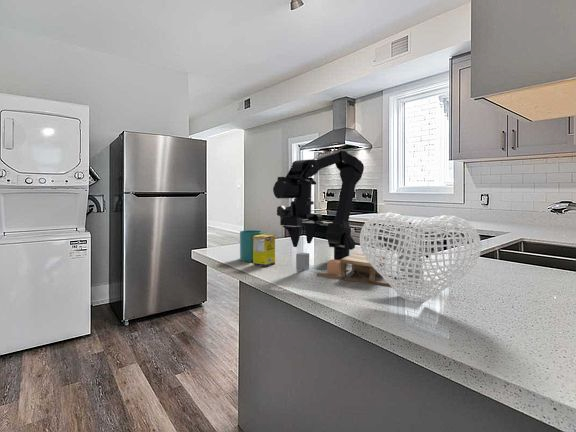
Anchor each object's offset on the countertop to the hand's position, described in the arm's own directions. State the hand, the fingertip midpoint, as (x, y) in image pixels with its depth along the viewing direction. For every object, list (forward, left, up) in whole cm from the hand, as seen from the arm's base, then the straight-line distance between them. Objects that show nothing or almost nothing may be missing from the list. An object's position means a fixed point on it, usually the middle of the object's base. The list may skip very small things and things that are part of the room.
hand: (302, 245), depth 115 cm
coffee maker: (-13, +33, -10) cm, 37 cm away
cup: (-9, -27, -10) cm, 30 cm away
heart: (+12, +39, -10) cm, 42 cm away
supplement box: (-3, -18, -10) cm, 21 cm away
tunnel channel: (0, +21, -9) cm, 23 cm away
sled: (0, +8, -9) cm, 12 cm away
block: (0, +12, -8) cm, 15 cm away
